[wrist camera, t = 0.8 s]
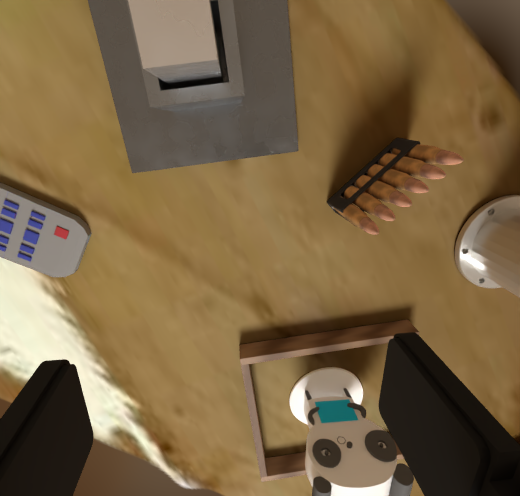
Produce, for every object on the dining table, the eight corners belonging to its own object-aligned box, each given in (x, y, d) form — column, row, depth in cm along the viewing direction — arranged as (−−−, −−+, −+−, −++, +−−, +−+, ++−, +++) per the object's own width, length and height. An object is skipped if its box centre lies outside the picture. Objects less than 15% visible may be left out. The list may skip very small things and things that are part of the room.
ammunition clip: (397, 136, 38) (466, 143, 27) (406, 149, 38) (477, 160, 27) (326, 201, 40) (362, 233, 29) (335, 212, 40) (375, 247, 29)
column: (218, 41, 32) (205, -34, 16) (224, 88, 33) (218, 60, 18) (175, 46, 32) (121, -25, 16) (183, 93, 33) (142, 69, 18)
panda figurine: (370, 364, 49) (425, 460, 35) (362, 421, 53) (408, 528, 39) (290, 369, 48) (314, 469, 34) (288, 426, 52) (308, 537, 39)
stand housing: (280, -50, 31) (306, -141, 20) (295, 149, 37) (321, 161, 27) (85, -28, 30) (6, -110, 20) (136, 171, 37) (96, 191, 26)
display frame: (407, 319, 47) (418, 331, 44) (401, 440, 56) (410, 457, 53) (239, 344, 46) (239, 359, 43) (260, 463, 55) (261, 481, 52)
